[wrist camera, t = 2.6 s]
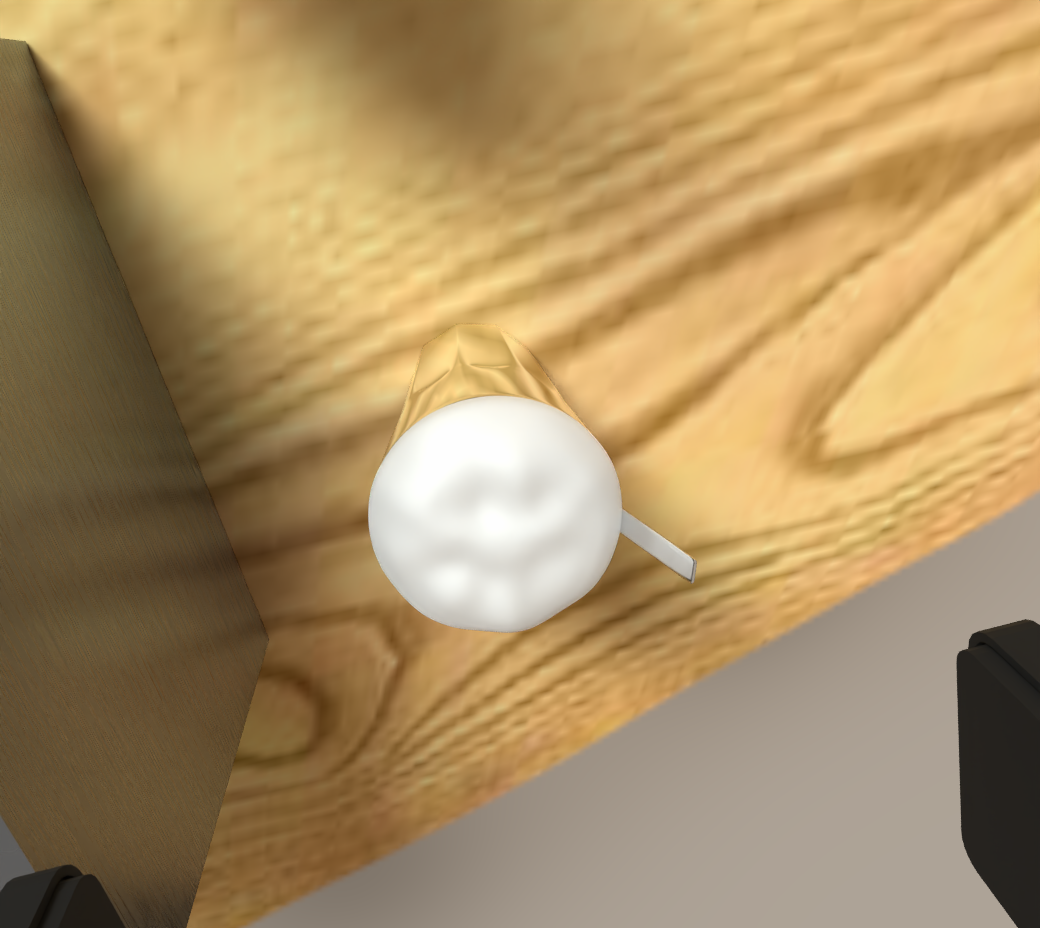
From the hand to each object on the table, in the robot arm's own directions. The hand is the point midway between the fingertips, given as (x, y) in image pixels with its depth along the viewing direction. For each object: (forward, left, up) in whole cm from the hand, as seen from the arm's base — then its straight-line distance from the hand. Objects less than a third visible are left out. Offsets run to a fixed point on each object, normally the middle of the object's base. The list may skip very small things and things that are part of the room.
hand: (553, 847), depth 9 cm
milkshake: (0, 0, -15) cm, 15 cm away
